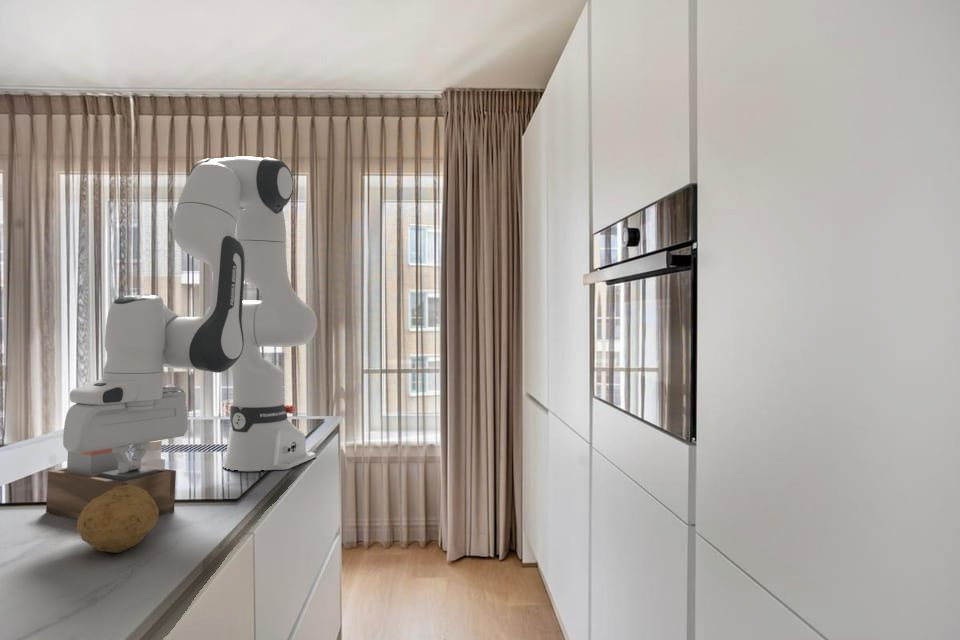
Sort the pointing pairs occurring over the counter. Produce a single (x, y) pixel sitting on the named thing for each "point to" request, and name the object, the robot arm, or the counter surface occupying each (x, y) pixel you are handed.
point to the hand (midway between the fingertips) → (129, 471)
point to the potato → (118, 519)
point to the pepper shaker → (154, 455)
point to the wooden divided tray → (103, 490)
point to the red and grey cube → (91, 462)
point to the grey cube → (128, 474)
